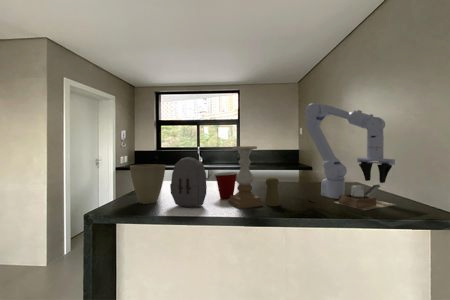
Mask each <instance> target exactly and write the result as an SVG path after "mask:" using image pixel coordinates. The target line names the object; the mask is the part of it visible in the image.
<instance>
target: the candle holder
mask: <svg viewBox="0 0 450 300" xmlns="http://www.w3.org/2000/svg"><path fill="white" fill-rule="evenodd" d="M231 149H232V150H237V153H238V154H239V156H240V159H239V160H238V164H239V167H240V168H239V171H238V173H237V176H236V181H235V182H236V183H238V185H237V188H236V189H237V191H238V192H236V193H235V194H233V195H231V196H230V198H229V199H228V200H227V204H229V205H230V206H233V208H237V209H240V210H242V209H248V208H249V209H250V208H257V207H263V206H264V201H263V200H261V197H260V196H258V195H256V194H255V193H254V192H252V190H253V185H251V184H253V182H254V181H255V179H254V176H253V174H252V172H251V170H250V165H251V164H252V161H251V159H250V154H251V153H252V150H257V149H258V147H257V146H255V145H253V146H251V145H250V146H249V145H245V146H244V145H243V146H242V145H240V146H232V148H231Z"/></svg>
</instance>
